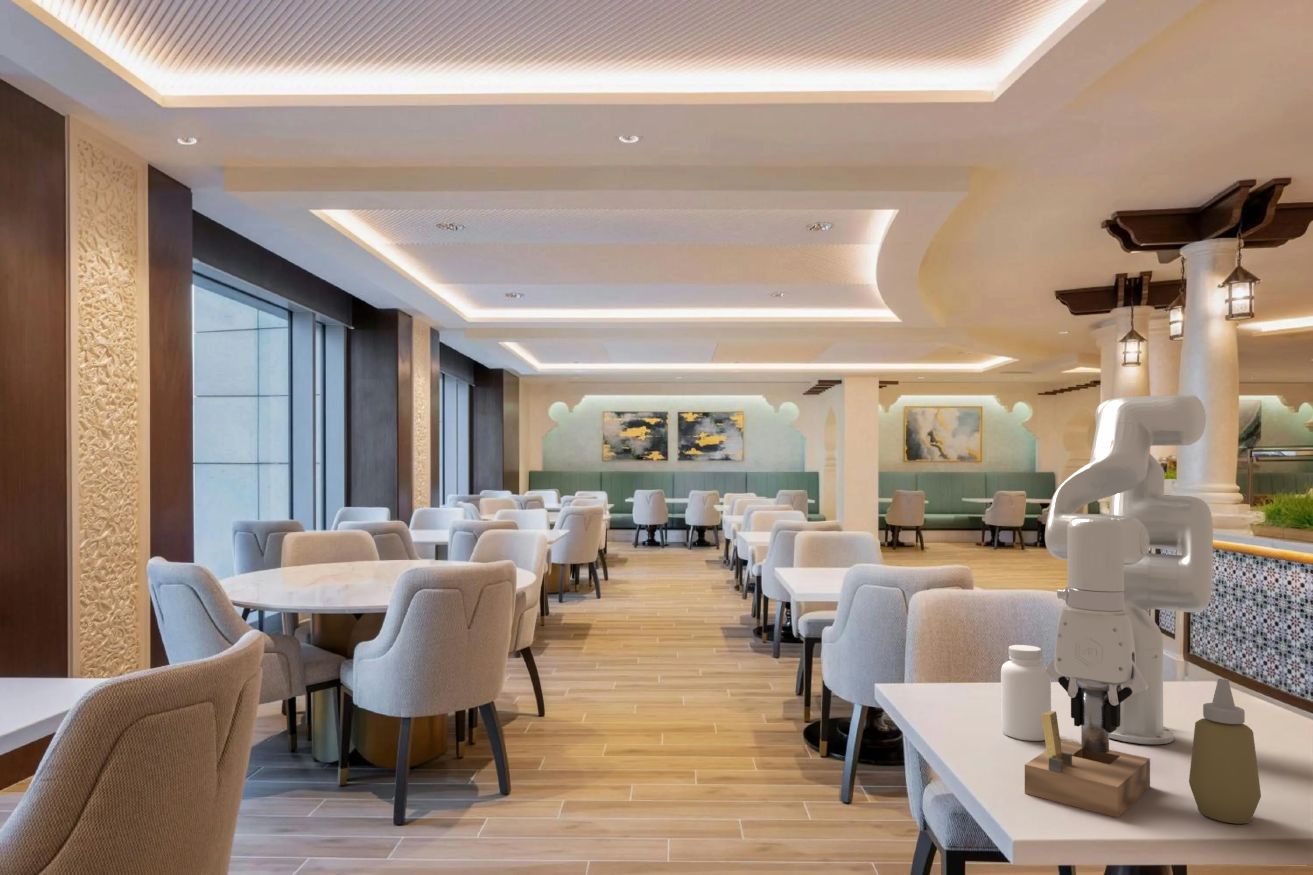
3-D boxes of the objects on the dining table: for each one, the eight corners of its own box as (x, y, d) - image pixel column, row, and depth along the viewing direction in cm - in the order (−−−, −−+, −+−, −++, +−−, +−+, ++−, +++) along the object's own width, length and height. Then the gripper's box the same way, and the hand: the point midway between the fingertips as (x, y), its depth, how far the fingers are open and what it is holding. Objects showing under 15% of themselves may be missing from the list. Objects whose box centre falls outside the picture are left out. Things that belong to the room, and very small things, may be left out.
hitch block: (1063, 765, 133) (1063, 729, 133) (1150, 786, 125) (1149, 747, 125) (1024, 792, 121) (1024, 752, 122) (1117, 817, 113) (1117, 774, 113)
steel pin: (1081, 741, 129) (1082, 670, 130) (1119, 749, 126) (1119, 676, 126) (1070, 748, 125) (1070, 675, 126) (1109, 757, 122) (1109, 682, 122)
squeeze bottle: (1174, 804, 118) (1174, 672, 119) (1230, 803, 119) (1229, 672, 119) (1218, 829, 110) (1217, 687, 111) (1277, 828, 111) (1275, 687, 111)
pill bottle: (990, 730, 151) (990, 644, 151) (1025, 725, 154) (1025, 641, 154) (1026, 744, 143) (1026, 653, 144) (1061, 739, 147) (1061, 650, 147)
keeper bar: (1063, 762, 122) (1054, 761, 122) (1056, 711, 122) (1047, 710, 123) (1057, 766, 120) (1048, 765, 121) (1050, 714, 121) (1041, 714, 122)
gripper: (1028, 597, 130) (1027, 720, 129) (1151, 610, 118) (1152, 746, 117) (1045, 593, 135) (1045, 711, 134) (1165, 605, 124) (1166, 734, 123)
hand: (1095, 726), depth 126 cm, fingers closed on steel pin, 3 cm apart
